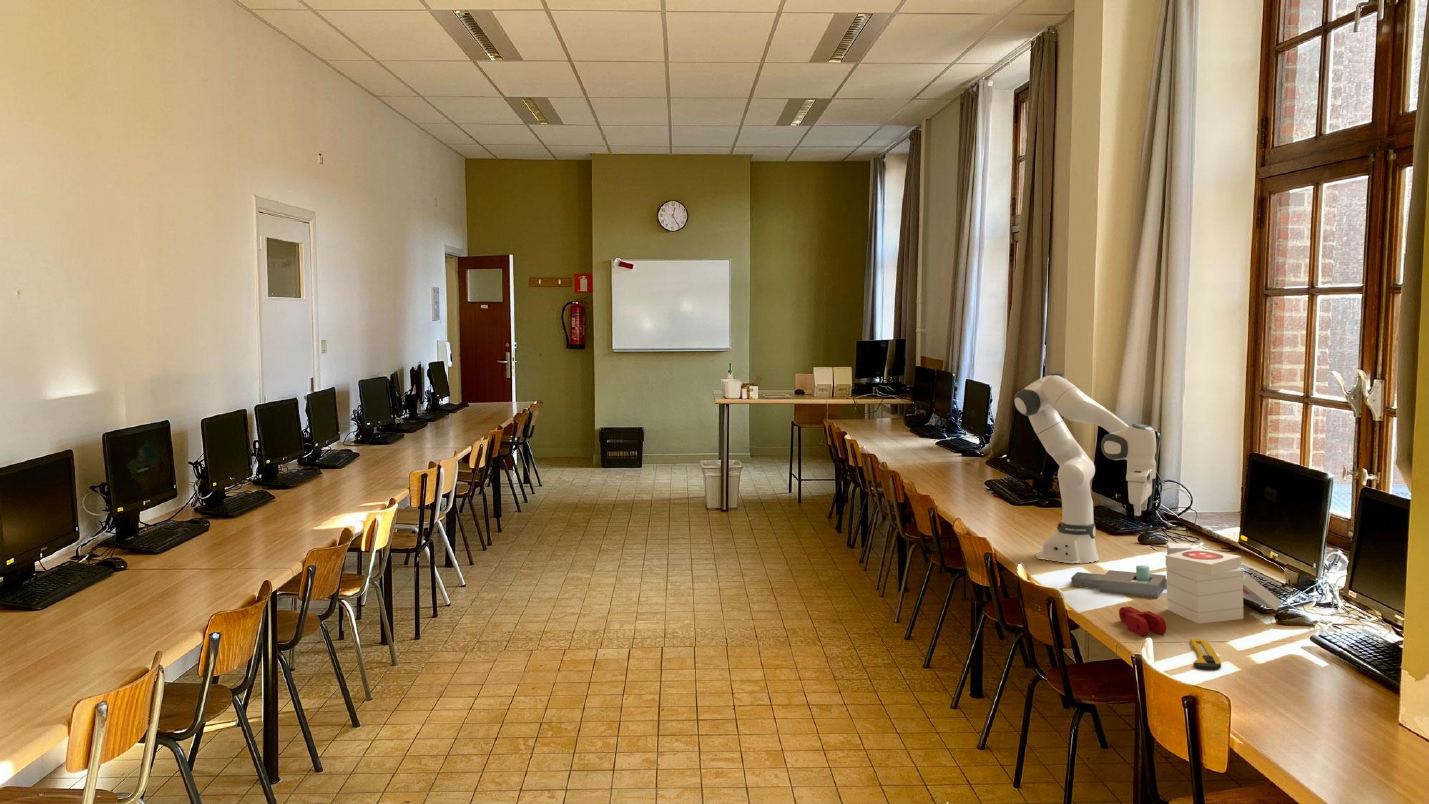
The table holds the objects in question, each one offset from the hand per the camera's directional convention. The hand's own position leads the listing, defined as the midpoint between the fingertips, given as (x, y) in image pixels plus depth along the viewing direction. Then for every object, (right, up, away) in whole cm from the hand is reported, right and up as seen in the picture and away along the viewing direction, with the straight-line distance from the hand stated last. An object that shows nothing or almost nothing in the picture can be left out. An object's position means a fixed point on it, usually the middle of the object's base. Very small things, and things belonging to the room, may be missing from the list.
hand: (1140, 512), depth 321 cm
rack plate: (-7, -26, +1) cm, 27 cm away
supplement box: (+16, -24, +5) cm, 29 cm away
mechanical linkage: (-19, -30, -40) cm, 53 cm away
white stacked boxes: (+11, -27, -30) cm, 42 cm away
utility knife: (-13, -32, -65) cm, 73 cm away
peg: (-1, -26, -3) cm, 26 cm away
